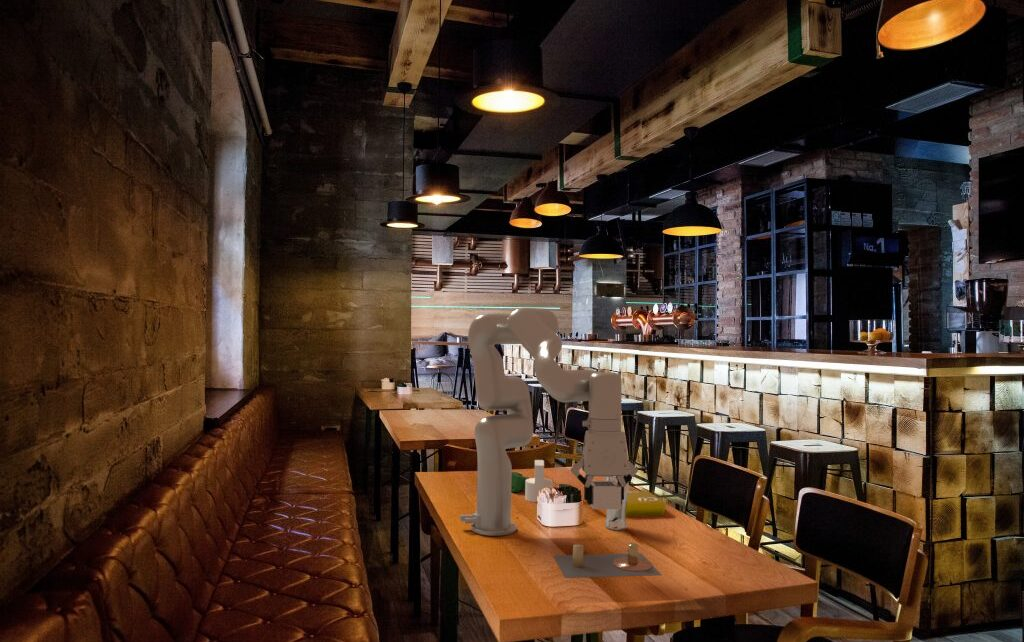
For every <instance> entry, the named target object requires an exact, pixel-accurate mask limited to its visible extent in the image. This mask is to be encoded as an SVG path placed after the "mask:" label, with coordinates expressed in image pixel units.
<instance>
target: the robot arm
mask: <svg viewBox="0 0 1024 642" xmlns="http://www.w3.org/2000/svg"><path fill="white" fill-rule="evenodd" d="M558 331H559V321H558V318H557V317H556V315H555V313H554V312H553V311H551V310H550V309H546V308H536V307H520V308H517V309H514V310H513V311H511V313H509V314H504V313H503V314H502V313H486V314H485V313H484V314H481V315H478V316H477V317H475V318H474V319H473V320H472V322H471V324H470V326H469V328H468V333H467V342H468V348H469V351H470V354H471V358H472V363H473V374H474V375H473V376H474V382H475V393H476V401H477V404H478V406H479V408H480V409H481V410H484V411H506V412H507V413H506V414H495V415H494V414H493V415H488V416H485V417H483V418H480V419H479V421H477V422H476V425H475V428H474V440H475V444H476V445H475V447H476V453H477V454H476V455H477V484H476V486H477V487H476V490H477V491H476V494H477V495H476V510H474V513H471V514H460V515H459V521H460V522H462V523H464V524H470V529H471V530H470V531H472V532H473V533H476V534H477V535H481V536H492V537H494V536H495V537H497V536H498V537H499V536H500V537H501V536H507V535H510V534H513V533H515V532H516V530H517V524H516V523H515V522H513V521H512V520H511V519H512V515H511V514H512V491H511V476H512V472H513V471H512V470H513V469H512V462H511V459H510V457H509V455H508V453H507V451H506V450H508V449H513V448H521V447H524V446H526V445H527V446H528V445H529V443H530V442H531V441H532V439H533V435H534V422H533V414H532V412H533V411H532V402H531V394H530V389H529V387H528V384H527V383H526V382H525V380H524V379H522V378H521V377H520V376H515V375H507V376H506V373H505V368H504V361H503V360H504V359H503V358H502V356H501V353H500V351H498V349H497V348H496V346H495V345H521V346H522V347H523V348H524V349H525V350H526V351H527V352H528V354H529V355H530V356H531V357H532V358H533V359H534V360H533V368H534V373H535V378H536V380H537V382H538V383H539V384H540V386H541V387H542V388H543V389H544V390H545V392H546V393H547V394H548V395H549V396H550V397H551V398H553V399H554V400H556V401H558V402H560V403H573V402H574V403H575V402H588V417H587V419H586V420H582V427H587V429H588V430H586V431H585V434H584V438H583V446H582V455H581V458H580V460H578V461H577V462H576V463H575V464H574V465H573V466H572V467H571V468H570V472H571V473H572V474H573V475H574V476H575V477H576V478H577V479H578V480H579V482H580V483H581V484H582V485H583V488H584V489H583V490H584V491H583V498H584V499H583V500H584V501H586V503H587V504H588V505H589V506H590V505H591V504H592V488H591V482H592V481H594V477H605V476H615V477H616V479H617V481H618V483H617V484H618V485H619V486H621V505H622V500H624V487H625V486H626V484H627V483H628V482H630V481H631V480H632V479H633V477H634V476H636V474H637V473H638V472H639V469H638V468H637V467H636V466H635V465H634V464H633V463H632V462H631V461H630V460H629V457H628V454H629V453H628V444H627V439H626V438H627V437H626V433H625V432H624V431H622V386H623V385H622V376H621V375H620V374H619V373H616V372H610V371H608V372H603V371H601V372H600V371H596V370H594V369H593V370H592V369H569V370H565V369H563V367H561V366H560V364H558V362H557V361H555V359H556V358H557V357H558V356H559V354H560V353H561V350H562V347H563V341H562V339H561V337H560V336H558V335H557V333H558ZM580 470H582V471H583V472H584V473H585V475H584V476H583V474H581V472H580Z"/></svg>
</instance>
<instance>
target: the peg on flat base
mask: <svg viewBox="0 0 1024 642" xmlns="http://www.w3.org/2000/svg"><path fill="white" fill-rule="evenodd" d="M638 553H639V544H637V543H635V542H629V543H627V554H628V557H619V558H616V559H614V561H613V564H614V565H615V566H616V567H618V568H620V569H623V570H628V571H646V570H649V569H651V568H652V565H653V563H652V562H651V561H650V560H648V559H647V558H646V559H647V560H646V559H643V558H638Z"/></svg>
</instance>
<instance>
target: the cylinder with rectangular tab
mask: <svg viewBox="0 0 1024 642" xmlns="http://www.w3.org/2000/svg"><path fill="white" fill-rule="evenodd" d="M553 483H554V482H553V480H552V479H549V478H546V477H545V460H543V459H534V477H529V479H526V481H525V490H524V493H525V494H524V498H525V500H526V501H527V500H528V502H530V501H531V503H537V502H536V500H537V495H538V491H539V490H540V489H542V488H545V487H550V488H554V487H553V486H554V485H553Z"/></svg>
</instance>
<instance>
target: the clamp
mask: <svg viewBox="0 0 1024 642" xmlns="http://www.w3.org/2000/svg"><path fill="white" fill-rule="evenodd" d="M529 478H530V477H528V476H523V474H522V473H519V472H515V471H512V476H511V493H516V492H518V493H520V491H525V481H526V479H529Z"/></svg>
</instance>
